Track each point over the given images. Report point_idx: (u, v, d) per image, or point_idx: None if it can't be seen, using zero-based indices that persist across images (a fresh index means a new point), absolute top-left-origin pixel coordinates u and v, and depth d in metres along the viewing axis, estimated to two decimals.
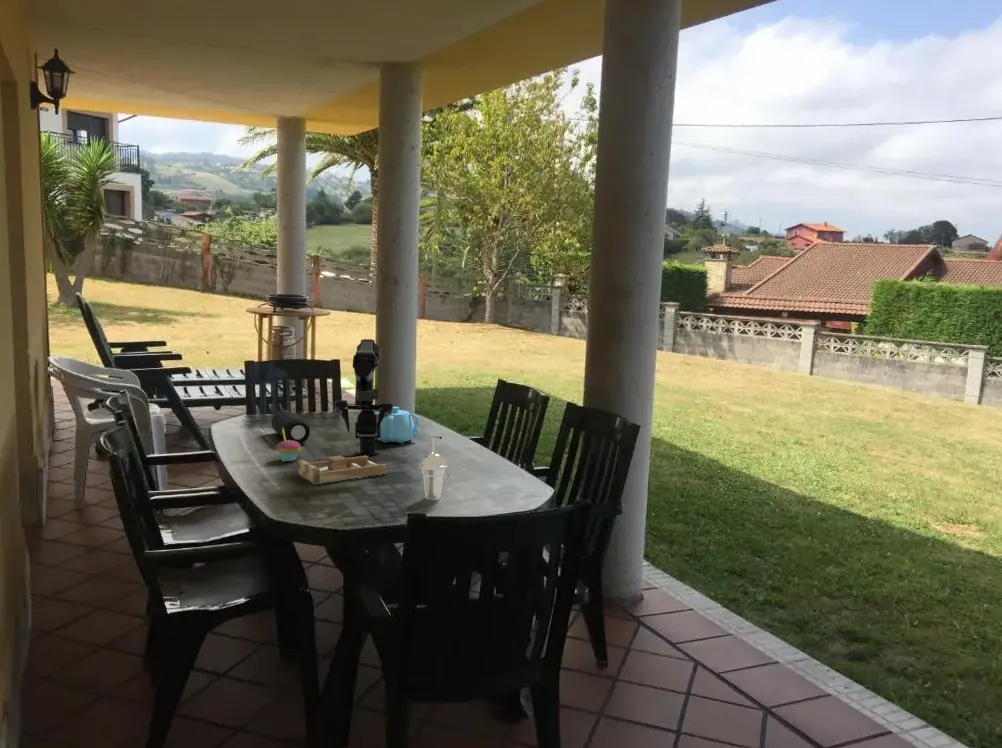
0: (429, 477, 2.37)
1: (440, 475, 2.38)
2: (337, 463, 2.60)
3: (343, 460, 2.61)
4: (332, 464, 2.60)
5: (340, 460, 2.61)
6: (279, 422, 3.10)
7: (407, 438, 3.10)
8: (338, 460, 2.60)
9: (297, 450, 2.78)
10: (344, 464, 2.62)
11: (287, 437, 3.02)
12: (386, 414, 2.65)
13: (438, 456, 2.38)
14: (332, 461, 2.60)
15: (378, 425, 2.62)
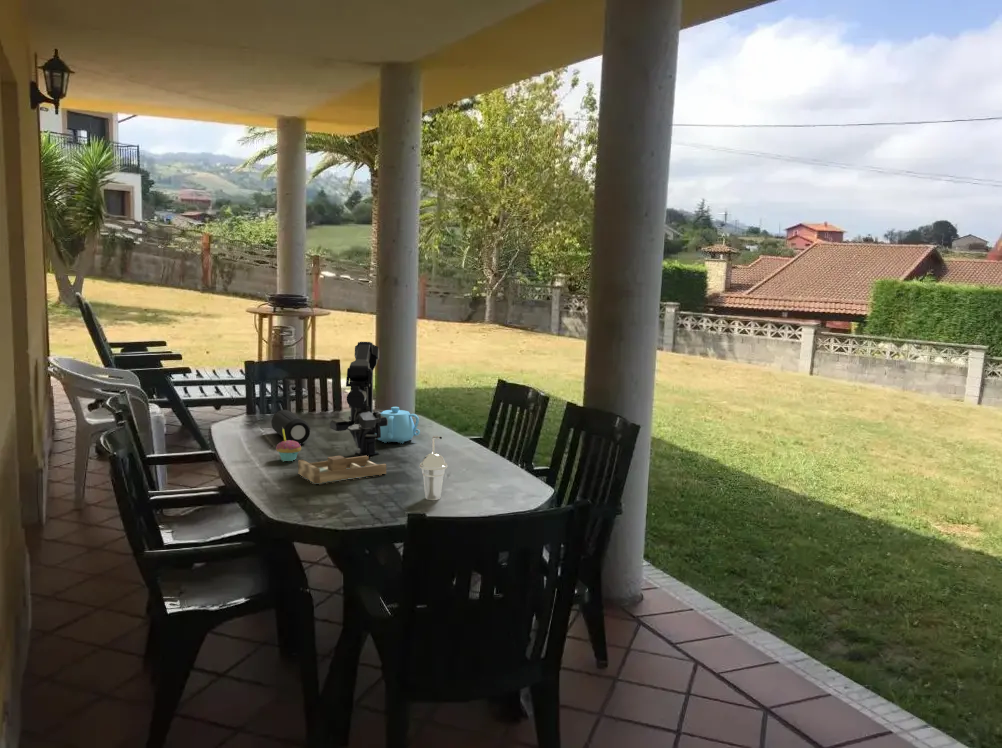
0: (429, 477, 2.37)
1: (440, 475, 2.38)
2: (337, 463, 2.60)
3: (343, 460, 2.61)
4: (332, 464, 2.60)
5: (340, 460, 2.61)
6: (279, 422, 3.10)
7: (407, 438, 3.10)
8: (338, 460, 2.60)
9: (297, 450, 2.78)
10: (344, 464, 2.62)
11: (287, 437, 3.02)
12: None
13: (438, 456, 2.38)
14: (332, 461, 2.60)
15: (361, 441, 2.66)
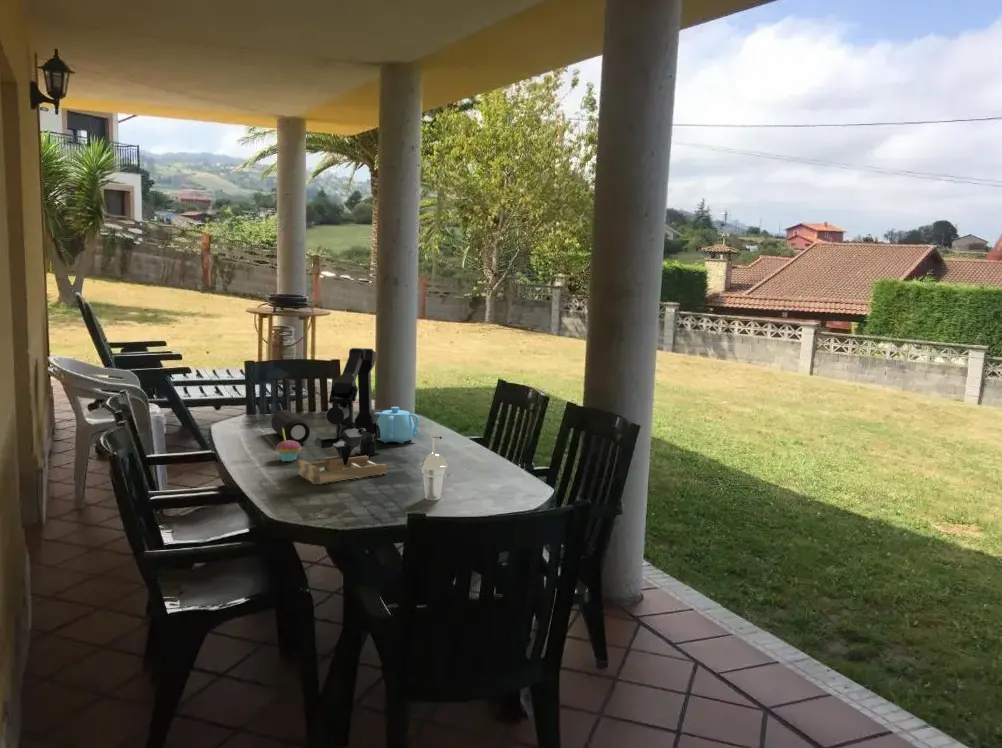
0: (429, 477, 2.37)
1: (440, 475, 2.38)
2: (333, 463, 2.59)
3: (340, 460, 2.60)
4: (329, 465, 2.59)
5: (337, 460, 2.60)
6: (279, 422, 3.10)
7: (407, 438, 3.10)
8: (335, 460, 2.59)
9: (297, 450, 2.78)
10: (341, 464, 2.61)
11: (287, 437, 3.02)
12: None
13: (438, 456, 2.38)
14: (329, 462, 2.59)
15: (347, 458, 2.63)
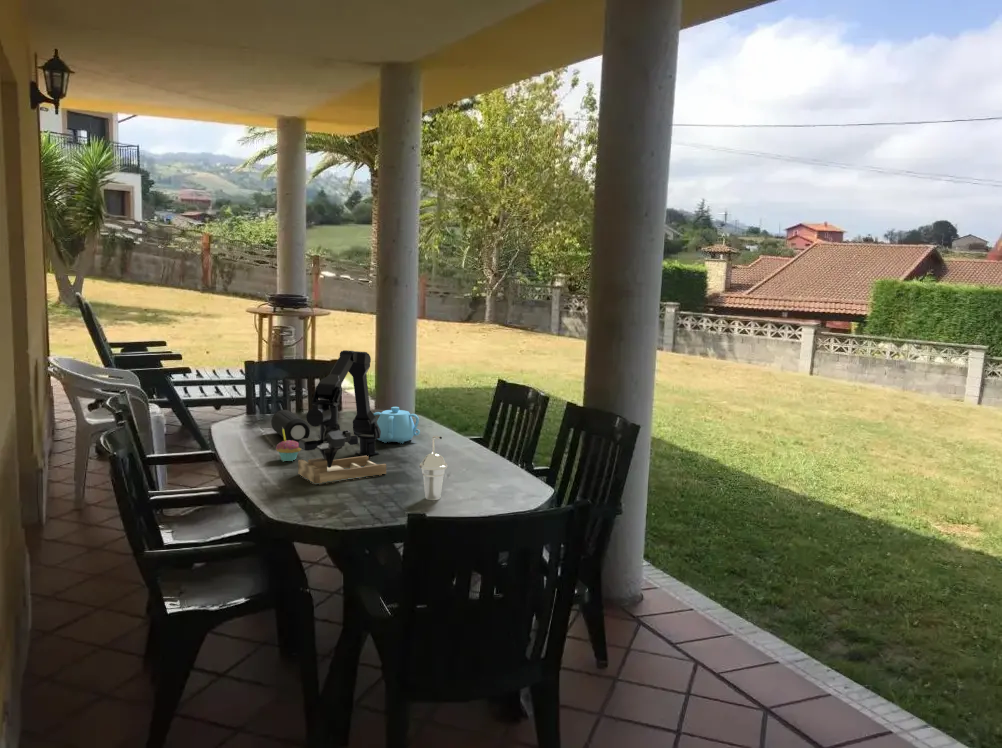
0: (429, 477, 2.37)
1: (440, 475, 2.38)
2: (317, 466, 2.56)
3: (324, 463, 2.57)
4: None
5: (321, 463, 2.57)
6: (279, 422, 3.10)
7: (407, 438, 3.10)
8: (319, 463, 2.56)
9: (297, 450, 2.78)
10: (325, 467, 2.58)
11: (287, 437, 3.02)
12: None
13: (438, 456, 2.38)
14: (313, 464, 2.56)
15: (331, 461, 2.60)
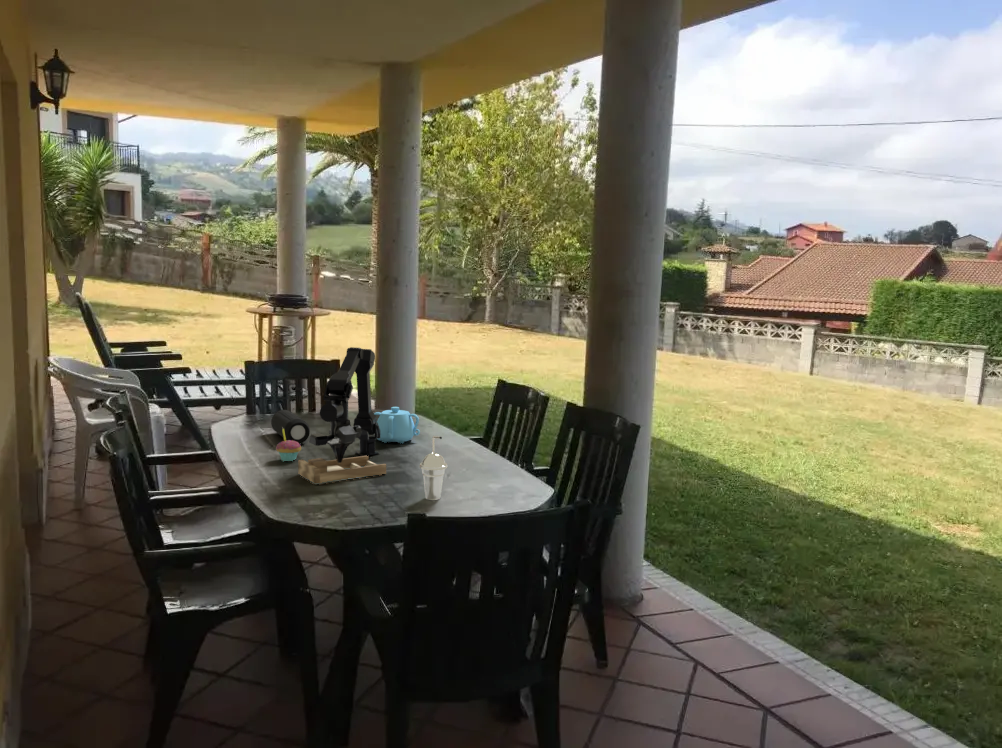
0: (429, 477, 2.37)
1: (440, 475, 2.38)
2: (317, 466, 2.56)
3: (324, 463, 2.57)
4: None
5: (321, 463, 2.57)
6: (279, 422, 3.10)
7: (407, 438, 3.10)
8: (319, 463, 2.56)
9: (297, 450, 2.78)
10: (325, 467, 2.58)
11: (287, 437, 3.02)
12: None
13: (438, 456, 2.38)
14: (313, 464, 2.56)
15: (342, 456, 2.62)
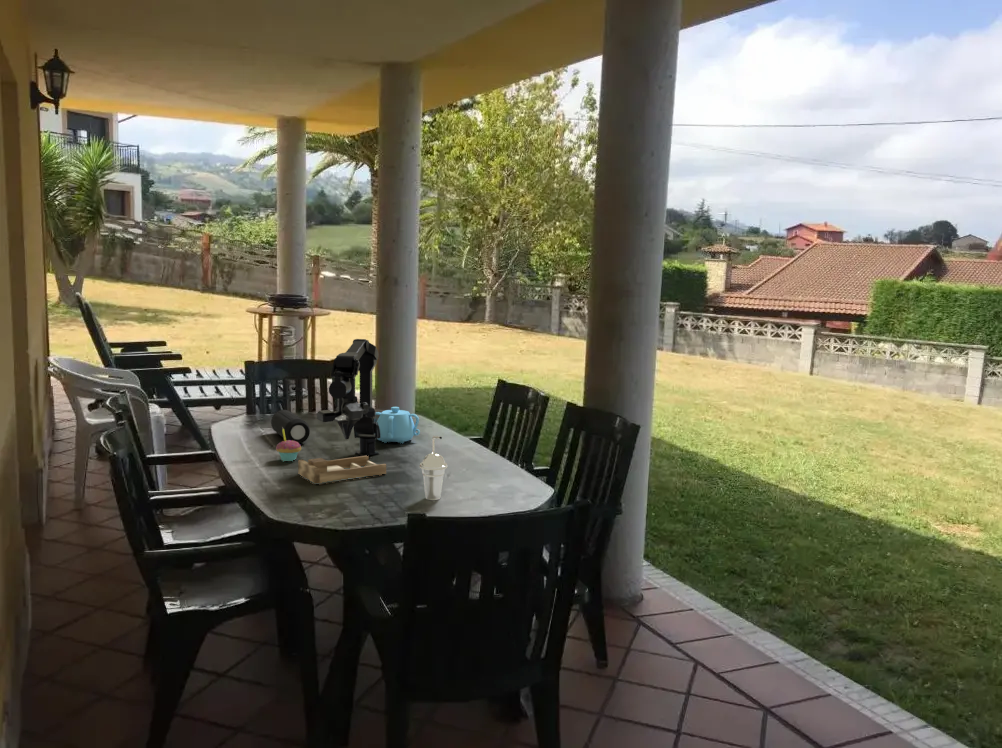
0: (429, 477, 2.37)
1: (440, 475, 2.38)
2: (317, 466, 2.56)
3: (324, 463, 2.57)
4: None
5: (321, 463, 2.57)
6: (279, 422, 3.10)
7: (407, 438, 3.10)
8: (319, 463, 2.56)
9: (297, 450, 2.78)
10: (325, 467, 2.58)
11: (287, 437, 3.02)
12: None
13: (438, 456, 2.38)
14: (313, 464, 2.56)
15: (349, 432, 2.64)
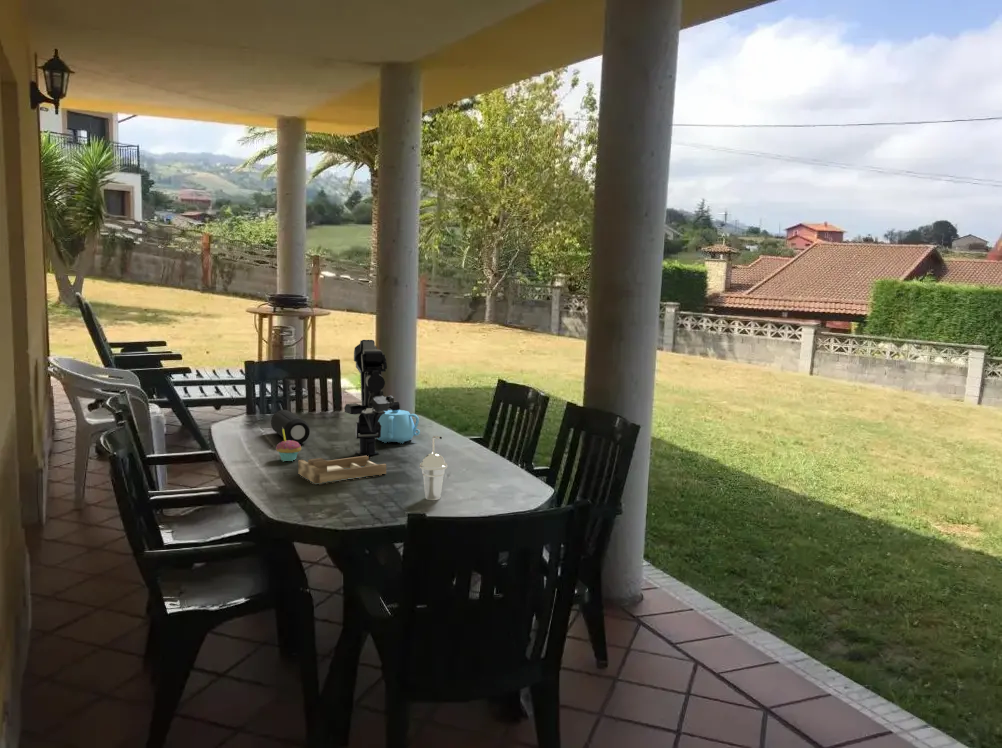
0: (429, 477, 2.37)
1: (440, 475, 2.38)
2: (317, 466, 2.56)
3: (324, 463, 2.57)
4: None
5: (321, 463, 2.57)
6: (279, 422, 3.10)
7: (407, 438, 3.10)
8: (319, 463, 2.56)
9: (297, 450, 2.78)
10: (325, 467, 2.58)
11: (287, 437, 3.02)
12: None
13: (438, 456, 2.38)
14: (313, 464, 2.56)
15: (375, 425, 2.75)
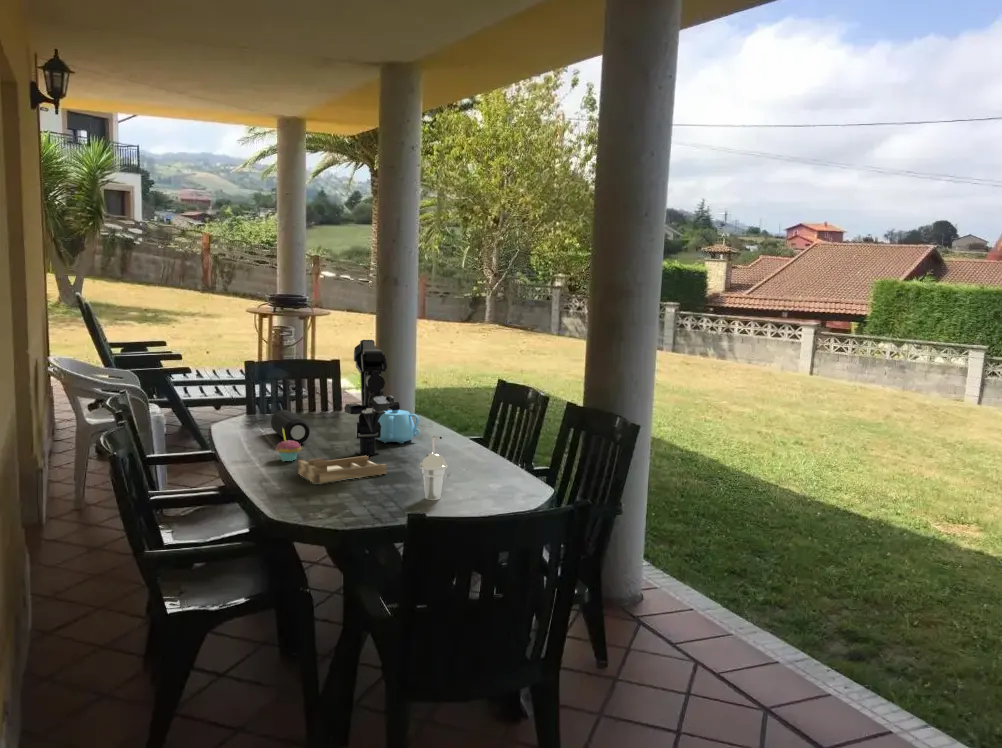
0: (429, 477, 2.37)
1: (440, 475, 2.38)
2: (317, 466, 2.56)
3: (324, 463, 2.57)
4: None
5: (321, 463, 2.57)
6: (279, 422, 3.10)
7: (407, 438, 3.10)
8: (319, 463, 2.56)
9: (297, 450, 2.78)
10: (325, 467, 2.58)
11: (287, 437, 3.02)
12: None
13: (438, 456, 2.38)
14: (313, 464, 2.56)
15: (375, 425, 2.75)
